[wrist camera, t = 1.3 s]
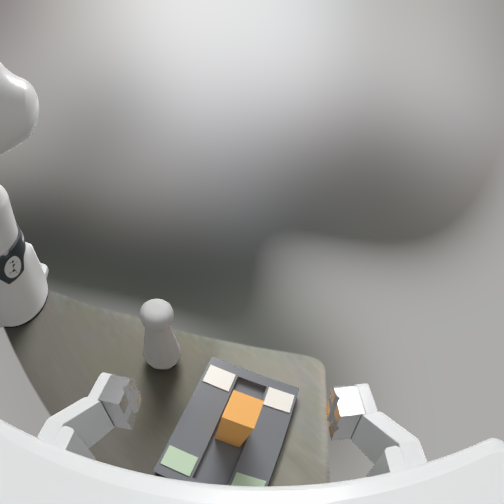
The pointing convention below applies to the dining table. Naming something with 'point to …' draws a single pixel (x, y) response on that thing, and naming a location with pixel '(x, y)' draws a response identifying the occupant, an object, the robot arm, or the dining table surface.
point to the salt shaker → (159, 335)
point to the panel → (207, 422)
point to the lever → (238, 418)
